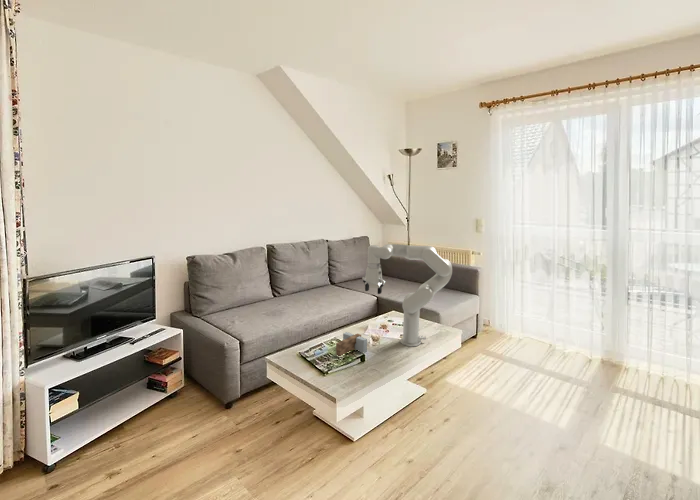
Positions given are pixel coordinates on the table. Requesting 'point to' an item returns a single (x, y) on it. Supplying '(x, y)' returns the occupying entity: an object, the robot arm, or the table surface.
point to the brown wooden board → (346, 345)
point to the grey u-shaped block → (357, 342)
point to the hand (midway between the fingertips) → (373, 292)
